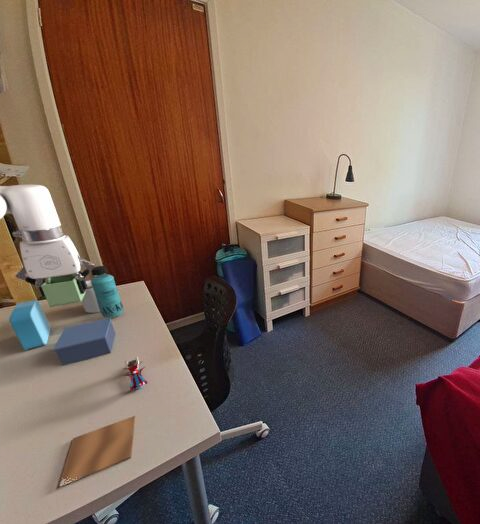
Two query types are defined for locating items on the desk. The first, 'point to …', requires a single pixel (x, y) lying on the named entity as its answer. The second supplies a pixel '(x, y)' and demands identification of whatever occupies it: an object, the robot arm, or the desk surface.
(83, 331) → the blue block
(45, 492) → the desk surface
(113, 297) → the beverage bottle
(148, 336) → the desk surface
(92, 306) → the mug
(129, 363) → the toy action figure
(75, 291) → the green tub
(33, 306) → the data package
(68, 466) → the cork mat
